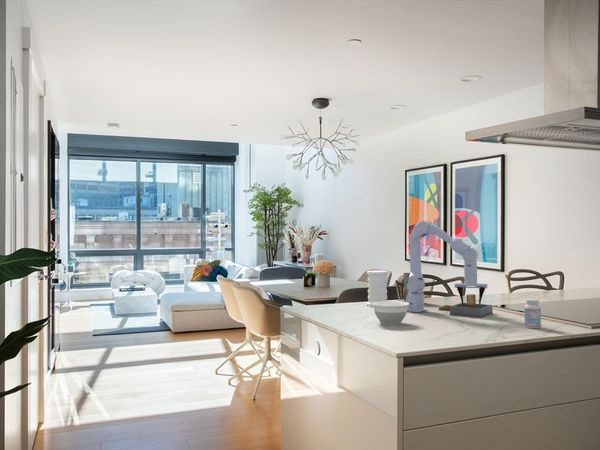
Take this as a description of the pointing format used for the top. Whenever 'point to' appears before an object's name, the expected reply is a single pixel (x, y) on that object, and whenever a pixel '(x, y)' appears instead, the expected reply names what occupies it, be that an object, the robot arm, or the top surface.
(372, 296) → the decorative container
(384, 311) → the bowl
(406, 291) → the coffee box
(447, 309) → the collar holder
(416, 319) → the top surface
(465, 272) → the robot arm
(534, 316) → the pill bottle
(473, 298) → the dowel
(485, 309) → the tray
